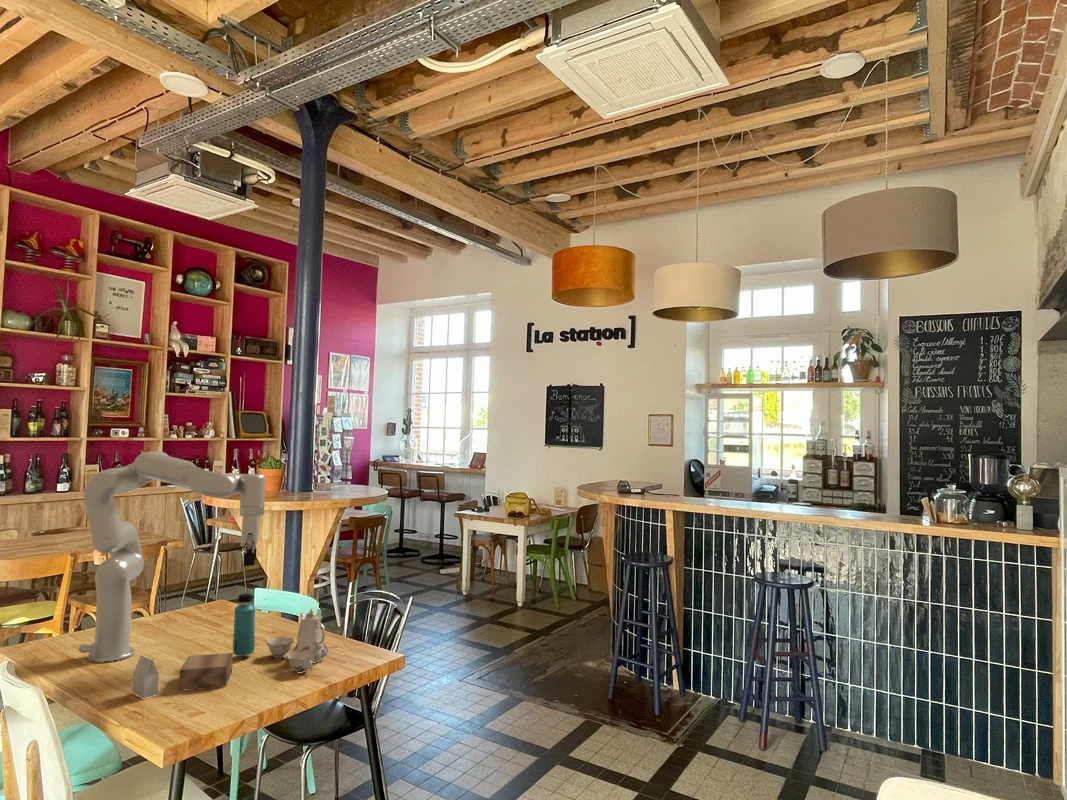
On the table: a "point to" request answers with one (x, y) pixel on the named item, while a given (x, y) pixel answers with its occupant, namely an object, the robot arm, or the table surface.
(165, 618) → the table surface
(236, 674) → the table surface
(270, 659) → the table surface
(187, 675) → the brown wooden block
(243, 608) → the beverage bottle
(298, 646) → the chinaware
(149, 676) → the milk carton
